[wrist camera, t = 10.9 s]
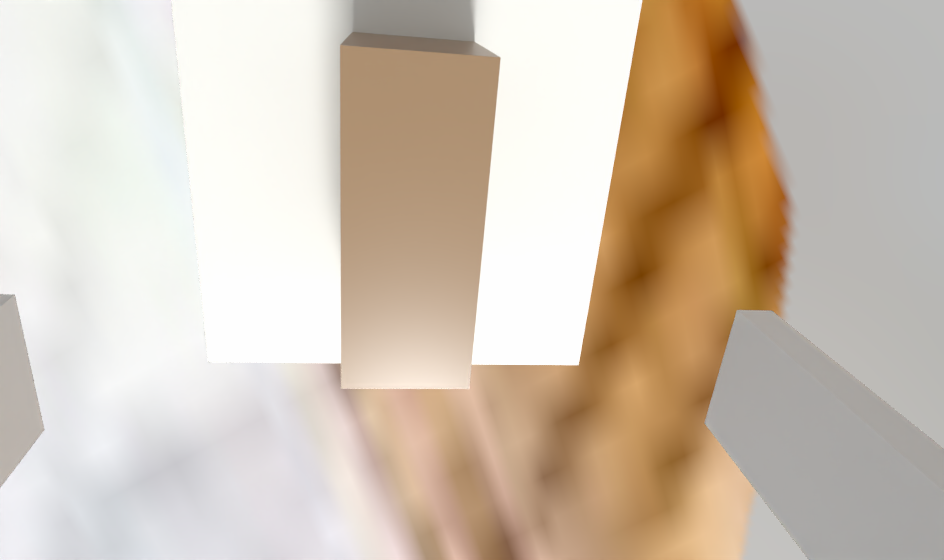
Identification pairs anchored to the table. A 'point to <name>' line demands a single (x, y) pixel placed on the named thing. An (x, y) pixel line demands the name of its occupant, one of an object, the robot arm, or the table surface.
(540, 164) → the cover board
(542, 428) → the table surface
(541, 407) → the table surface
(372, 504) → the table surface
